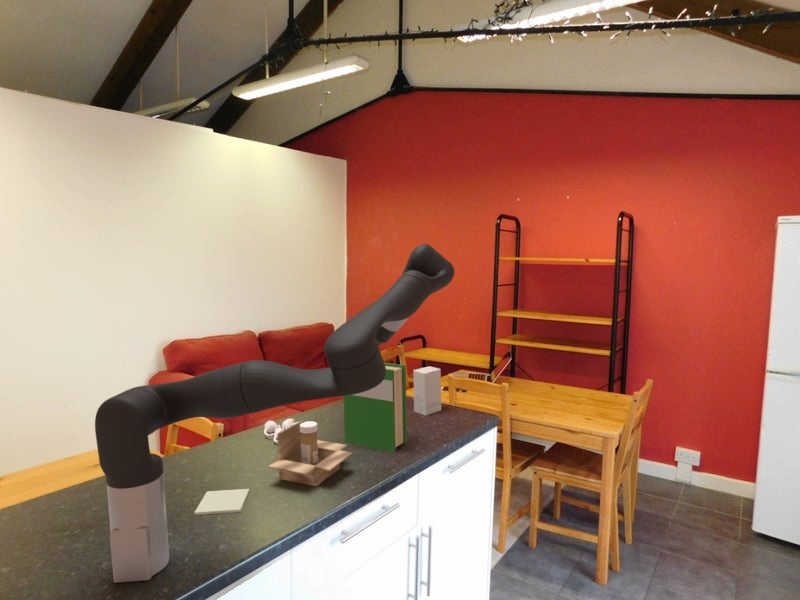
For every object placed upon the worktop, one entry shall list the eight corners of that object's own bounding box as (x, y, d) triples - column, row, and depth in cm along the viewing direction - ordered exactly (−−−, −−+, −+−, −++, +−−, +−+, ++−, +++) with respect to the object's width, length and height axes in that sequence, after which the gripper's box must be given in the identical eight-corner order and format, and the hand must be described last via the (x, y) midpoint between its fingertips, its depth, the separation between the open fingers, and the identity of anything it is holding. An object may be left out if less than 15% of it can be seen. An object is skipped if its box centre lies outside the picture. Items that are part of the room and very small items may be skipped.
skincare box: (430, 407, 186) (429, 365, 185) (442, 411, 181) (442, 368, 180) (413, 412, 181) (412, 369, 179) (425, 416, 176) (424, 372, 174)
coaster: (240, 512, 113) (240, 509, 113) (194, 515, 112) (194, 512, 112) (249, 491, 123) (249, 488, 123) (207, 493, 122) (207, 491, 122)
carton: (360, 464, 137) (359, 421, 136) (320, 496, 119) (319, 447, 118) (313, 456, 143) (311, 415, 142) (269, 485, 126) (267, 438, 124)
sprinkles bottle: (322, 474, 131) (320, 424, 130) (305, 478, 129) (303, 427, 128) (314, 468, 135) (313, 419, 134) (298, 472, 133) (296, 422, 131)
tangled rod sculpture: (324, 447, 154) (325, 433, 153) (278, 453, 146) (279, 439, 146) (302, 427, 170) (302, 415, 170) (259, 432, 163) (260, 419, 162)
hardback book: (407, 443, 151) (405, 365, 149) (393, 452, 145) (392, 370, 142) (359, 433, 160) (357, 359, 158) (344, 441, 154) (342, 364, 152)
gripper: (382, 335, 109) (341, 382, 116) (410, 325, 122) (372, 368, 129) (360, 311, 111) (321, 358, 118) (390, 303, 124) (353, 346, 130)
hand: (347, 363), depth 123 cm, fingers open, 8 cm apart
